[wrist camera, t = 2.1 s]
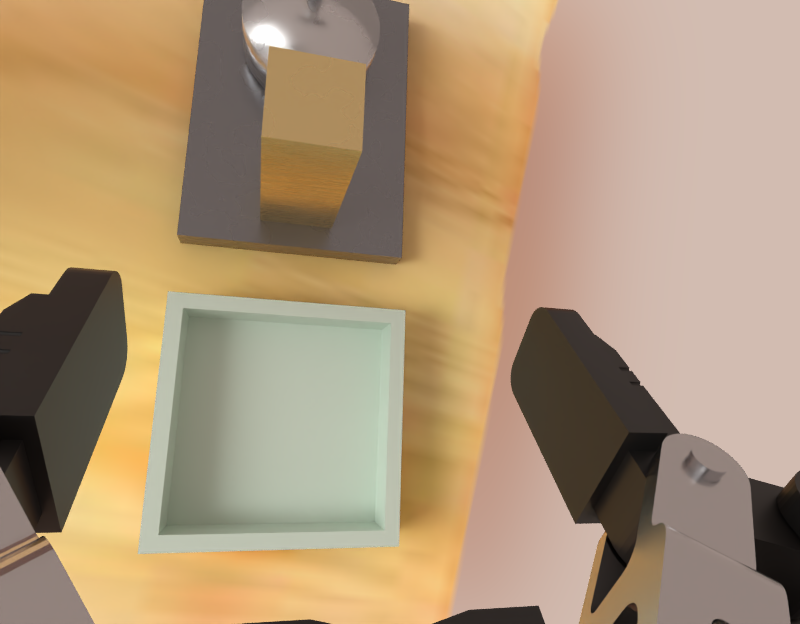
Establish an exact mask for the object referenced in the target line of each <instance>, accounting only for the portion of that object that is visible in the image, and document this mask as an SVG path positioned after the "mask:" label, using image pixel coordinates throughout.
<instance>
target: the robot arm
mask: <svg viewBox="0 0 800 624" xmlns="http://www.w3.org/2000/svg"><path fill="white" fill-rule="evenodd" d="M126 360H127V334H126V323H125V313H124V302H123V292H122V283H121V278H120V275H119V273H118V272H117V271H107V270H95V269H83V268H68V269H67V270H66V271H65V272H64V274H63V275H62V276H61V278H60V279H59V281H58V282H57V284H56V285H55V287H54V288H53V289H52V291H51V292H50V294H49V295H47V294H33V293H31V294H30V295H28V296H26V297H24V298H23V299H21V300H19V301H18V302H16V303H14V304H13V305H11V306H9V307H8V308H6V309H4V310H3V311H2V312H1V314H0V624H94V622H93V620H92V618H91V616H90V615H89V613H88V611H87V609H86V607H85V605H84V604H83V602H82V600H81V598H80V596H79V594H78V593H77V591H76V589H75V587H74V585H73V583H72V582H71V580H70V578H69V576H68V574H67V572H66V571H65V569H64V567H63V565H62V563H61V561H60V560H59V558H58V556H57V554H56V552H55V551H54V549H53V547H52V546H51V544H50V543H49V541H48V540H47V539H46V538H45V537H44V536H42V537H40V538H39V537H38V536H37V534H36V533H50V532H62V529H63V527H64V524H65V522H66V519H67V517H68V514H69V512H70V509H71V507H72V504H73V501H74V499H75V496H76V494H77V491H78V489H79V486H80V484H81V481H82V479H83V476H84V474H85V471H86V469H87V466H88V463H89V461H90V458H91V456H92V453H93V451H94V448H95V446H96V443H97V441H98V438H99V436H100V433H101V431H102V428H103V426H104V423H105V420H106V418H107V415H108V413H109V410H110V408H111V405H112V403H113V400H114V398H115V395H116V393H117V390H118V388H119V385H120V382H121V380H122V377H123V374H124V371H125V366H126ZM511 386H512V391H513V394H514V396H515V398H516V400H517V402H518V404H519V406H520V409H521V411H522V413H523V415H524V417H525V419H526V421H527V423H528V425H529V427H530V429H531V432H532V434H533V436H534V438H535V440H536V442H537V444H538V446H539V448H540V451H541V453H542V455H543V457H544V459H545V461H546V463H547V465H548V467H549V469H550V472H551V474H552V476H553V478H554V480H555V482H556V484H557V486H558V488H559V490H560V493H561V495H562V497H563V499H564V501H565V503H566V505H567V507H568V509H569V511H570V513H571V516H572V518H573V520H574V522H575V524H577V523H579V524H581V523H601V524H602V526H603V528H604V530H605V532H604V534H603V535H602V537H601V538H600V540H599V543H598V545H597V550H596V554H595V558H594V562H593V567H592V571H591V575H590V579H589V583H588V588H587V592H586V597H585V601H584V605H583V609H582V613H581V617H580V622H579V624H800V471H799V472H797V473H796V475H795V476H794V477H793V478H792V479H791V480H790V481H789V483H788V484H787V485H786V486H785V487H784V488H783V487H779V486H776V485H772V484H768V483H765V482H761V481H758V480H754V479H751V478H748V477H747V475H746V473H745V471H744V470H743V469H742V467H741V466H740V465H739V464H738V463H737V462H736V461H735V460H734V459H733V458H732V457H731V456H730V455H729V454H727V453H726V452H725V451H723V450H722V449H721V448H719V447H718V446H716V445H714V444H713V443H710V442H709V441H706V440H704V439H702V438H699V437H696V436H693V435H688V434H680V433H679V432H678V430H677V429H676V428H675V426H674V425H673V424H672V423H671V421H670V420H669V419H668V417H667V416H666V415H665V413H664V412H663V411H662V410H661V408H660V407H659V406H658V404H657V403H656V402H655V401H654V399H653V398H652V397H651V395H650V394H649V393H648V391H647V390H646V389H645V388H644V386H640V381H639V380H638V379H637V377H636V376H635V375H634V374H633V372H632V371H629V367H628V366H627V364H626V363H625V362H624V361H623V359H622V358H621V357H620V355H619V354H618V353H617V352H616V350H615V349H613V348H612V347H611V346H609V345H608V344H607V343H605V342H604V341H603V340H602V339H600V338H599V337H597V336H596V335H594V334H593V333H592V331H591V330H590V328H589V327H588V326H587V324H586V323H585V322H584V320H583V319H582V318H581V316H580V315H579V314H578V313H577V312H576V311H574V310H568V309H555V308H543V307H540V308H538V309H537V310H535V311H534V313H533V315H532V317H531V319H530V321H529V324H528V327H527V329H526V332H525V334H524V337H523V339H522V342H521V345H520V347H519V350H518V352H517V355H516V357H515V360H514V363H513V365H512V370H511ZM244 624H330V623H325V622H320V621H315V620H311V619H310V620H294V621H277V622H260V623H244ZM433 624H545V623H544V620H543V617H542V614H541V611H540V609H539V606H527V607H510V608H494V609H477V610H468V611H465V612H463V613H460V614H457V615H455V616H452V617H449V618H447V619H444V620H441V621H439V622H436V623H433Z"/></svg>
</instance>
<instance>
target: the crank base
mask: <svg viewBox="0 0 800 624" xmlns="http://www.w3.org/2000/svg"><path fill="white" fill-rule="evenodd" d="M408 22H409V4H405V3H400V2H396V1H391V0H204V4H203V13H202V22H201V31H200V39H199V48H198V57H197V66H196V74H195V83H194V92H193V101H192V109H191V118H190V127H189V136H188V144H187V153H186V162H185V171H184V179H183V188H182V197H181V206H180V214H179V223H178V232H177V235H178V238H179V240H180V242H181V243H188V244H198V245H208V246H218V247H228V248H238V249H248V250H258V251H268V252H277V253H287V254H297V255H307V256H317V257H327V258H337V259H347V260H357V261H367V262H377V263H387V264H397V262H398V261H399V260H400V259H401V258H402V229H403V195H404V160H405V126H406V91H407V57H408ZM269 46H274V47H279V48H285V49H290V50H295V51H300V52H306V53H311V54H316V55H322V56H327V57H332V58H338V59H343V60H348V61H353V62H359V63H364V64H366V81H365V103H364V124H363V146H362V153H361V156H360V158H359V161H358V163H357V166H356V168H355V171H354V173H353V176H352V179H351V181H350V184H349V186H348V189H347V191H346V194H345V196H344V199H343V201H342V204H341V206H340V209H339V211H338V214H337V216H336V219H335V221H334V224H333V226H332V228H325V227H316V226H307V225H298V224H290V223H281V222H272V221H263V220H260V190H261V134H262V122H263V110H264V99H265V87H266V75H267V64H268V52H269Z"/></svg>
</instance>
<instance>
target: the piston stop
mask: <svg viewBox="0 0 800 624" xmlns="http://www.w3.org/2000/svg"><path fill="white" fill-rule="evenodd" d="M365 81H366V64H364V63H359V62H353V61H348V60H343V59H338V58H332V57H327V56H322V55H316V54H311V53H306V52H300V51H295V50H290V49H285V48H279V47H274V46H269V52H268V64H267V75H266V87H265V99H264V110H263V122H262V134H261V190H260V220H263V221H272V222H281V223H290V224H298V225H307V226H316V227H325V228H332V226H333V224H334V221H335V219H336V216H337V214H338V211H339V209H340V206H341V204H342V201H343V199H344V196H345V194H346V191H347V189H348V186H349V184H350V181H351V179H352V176H353V173H354V171H355V168H356V166H357V163H358V161H359V158H360V156H361V153H362V146H363V124H364V103H365Z"/></svg>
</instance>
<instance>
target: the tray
mask: <svg viewBox="0 0 800 624" xmlns="http://www.w3.org/2000/svg"><path fill="white" fill-rule="evenodd" d="M404 342H405V310H395V309H383V308H370V307H357V306H345V305H332V304H320V303H307V302H295V301H282V300H269V299H257V298H244V297H232V296H219V295H206V294H194V293H181V292H169V291H168V296H167V305H166V313H165V322H164V331H163V340H162V348H161V357H160V366H159V374H158V383H157V392H156V400H155V409H154V418H153V426H152V435H151V444H150V452H149V461H148V470H147V478H146V487H145V496H144V504H143V513H142V522H141V531H140V539H139V548H138V554H150V553H185V552H220V551H255V550H290V549H326V548H361V547H396V546H399V527H400V490H401V453H402V416H403V379H404Z"/></svg>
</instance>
